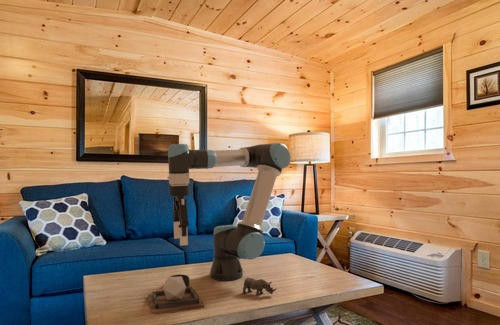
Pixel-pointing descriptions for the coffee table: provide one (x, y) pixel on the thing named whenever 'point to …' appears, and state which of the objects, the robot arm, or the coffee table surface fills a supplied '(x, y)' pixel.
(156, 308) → the board
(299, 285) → the coffee table surface
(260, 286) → the rhino figurine
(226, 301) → the coffee table surface
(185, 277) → the smart speaker
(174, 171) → the robot arm
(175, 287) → the die
